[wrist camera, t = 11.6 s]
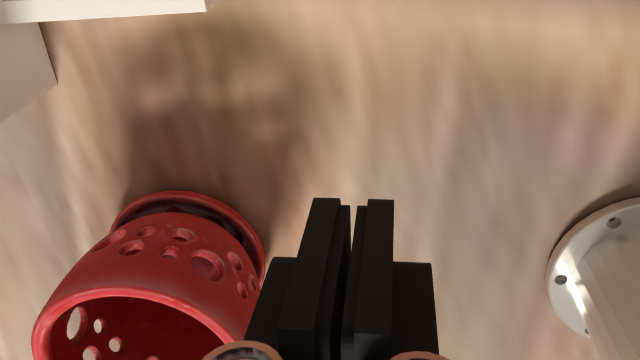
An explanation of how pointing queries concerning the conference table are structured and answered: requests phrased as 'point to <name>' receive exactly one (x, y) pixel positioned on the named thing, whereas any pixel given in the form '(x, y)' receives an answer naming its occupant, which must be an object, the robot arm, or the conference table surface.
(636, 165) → the conference table surface
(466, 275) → the conference table surface
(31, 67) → the two-post plank stand
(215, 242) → the plant pot
